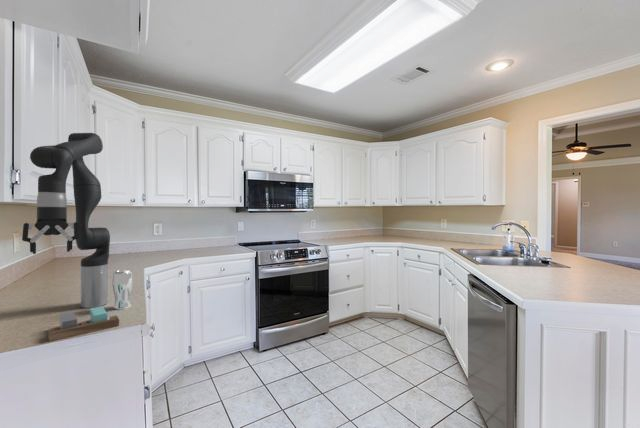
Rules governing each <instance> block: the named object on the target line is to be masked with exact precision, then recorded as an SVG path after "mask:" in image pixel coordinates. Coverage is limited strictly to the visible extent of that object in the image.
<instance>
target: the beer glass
mask: <svg viewBox="0 0 640 428" xmlns="http://www.w3.org/2000/svg"><path fill="white" fill-rule="evenodd" d="M133 281H134V279H133V270H130V269H129V270H127V269H125V270H117V271H114V272H113V273H112V289H113V290H112V291H113V294H114V305H113V310H118V311H119V310H125V309H129V308H131V307H132V303H131V293H132V290H133V289H132V288H133Z"/></svg>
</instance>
